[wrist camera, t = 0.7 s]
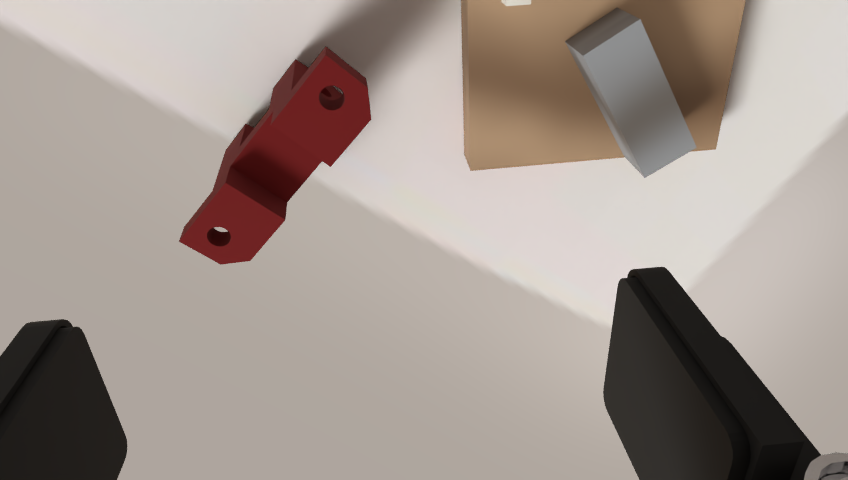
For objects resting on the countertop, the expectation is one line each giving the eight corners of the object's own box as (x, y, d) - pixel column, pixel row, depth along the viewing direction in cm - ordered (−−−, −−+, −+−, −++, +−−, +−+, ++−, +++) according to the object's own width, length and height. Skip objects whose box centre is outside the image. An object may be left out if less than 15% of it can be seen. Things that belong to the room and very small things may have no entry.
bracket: (385, 102, 24) (238, 274, 27) (375, 59, 28) (251, 210, 32) (325, 55, 22) (178, 241, 26) (325, 18, 27) (201, 179, 30)
